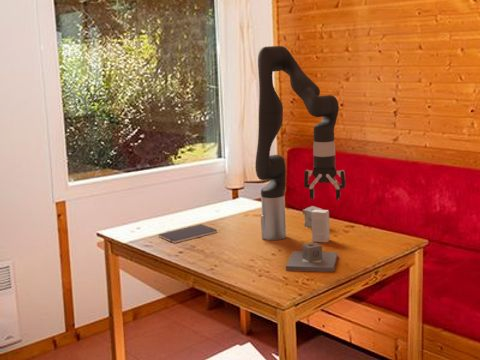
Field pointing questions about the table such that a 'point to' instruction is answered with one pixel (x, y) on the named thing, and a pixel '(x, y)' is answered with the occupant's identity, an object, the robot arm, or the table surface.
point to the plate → (322, 265)
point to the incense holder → (309, 215)
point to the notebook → (187, 233)
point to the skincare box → (320, 225)
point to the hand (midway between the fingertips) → (325, 199)
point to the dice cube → (312, 252)
